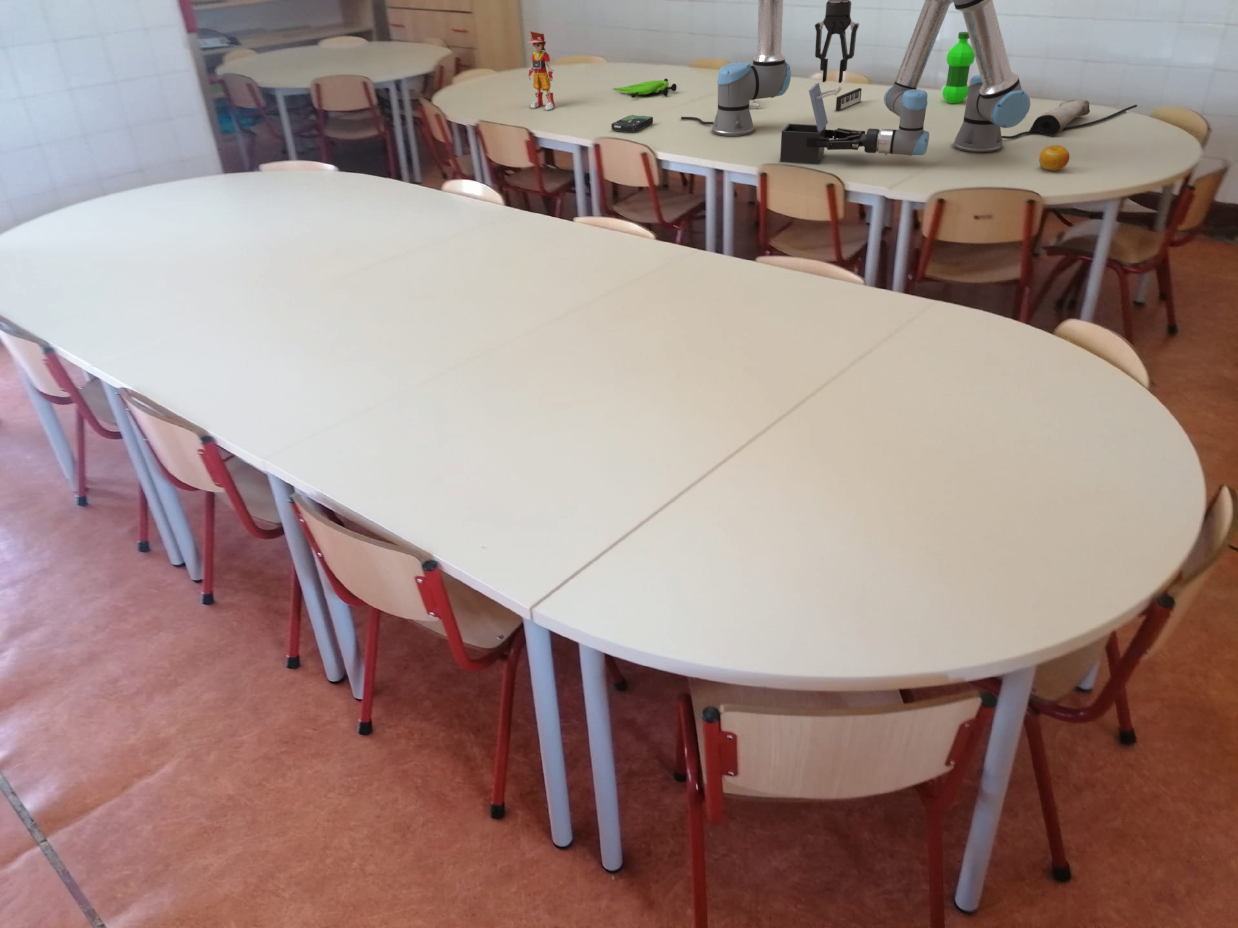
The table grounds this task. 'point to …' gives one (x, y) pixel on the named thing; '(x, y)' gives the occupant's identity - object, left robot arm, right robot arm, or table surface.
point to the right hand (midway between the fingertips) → (810, 137)
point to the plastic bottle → (958, 70)
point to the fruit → (1054, 157)
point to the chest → (800, 144)
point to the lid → (820, 104)
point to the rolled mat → (1060, 117)
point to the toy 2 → (648, 88)
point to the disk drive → (632, 123)
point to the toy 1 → (541, 71)
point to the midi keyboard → (848, 99)
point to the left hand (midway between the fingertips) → (832, 81)
